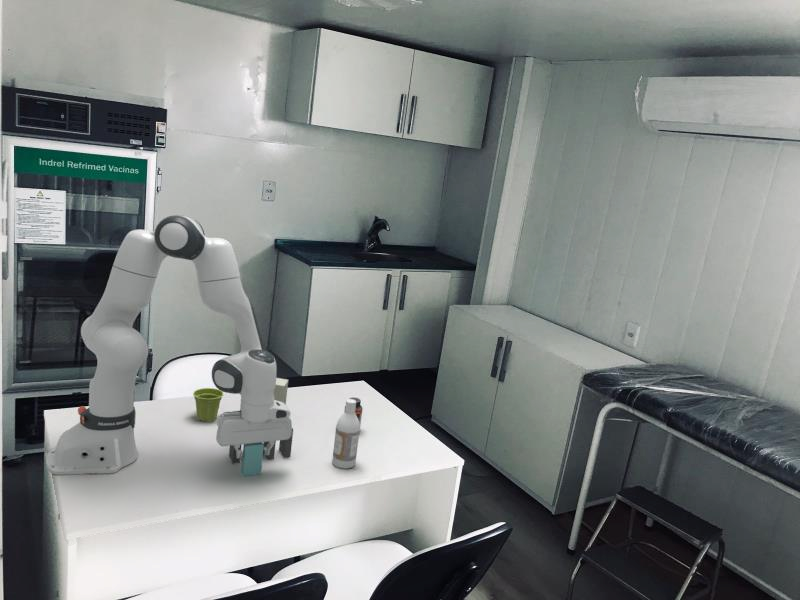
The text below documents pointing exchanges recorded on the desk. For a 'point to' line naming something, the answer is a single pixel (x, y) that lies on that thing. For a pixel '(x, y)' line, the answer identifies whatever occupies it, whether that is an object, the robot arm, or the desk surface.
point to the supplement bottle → (357, 408)
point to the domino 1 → (233, 454)
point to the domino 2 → (252, 459)
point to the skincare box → (281, 390)
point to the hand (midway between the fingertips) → (252, 456)
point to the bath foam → (346, 437)
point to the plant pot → (207, 403)
